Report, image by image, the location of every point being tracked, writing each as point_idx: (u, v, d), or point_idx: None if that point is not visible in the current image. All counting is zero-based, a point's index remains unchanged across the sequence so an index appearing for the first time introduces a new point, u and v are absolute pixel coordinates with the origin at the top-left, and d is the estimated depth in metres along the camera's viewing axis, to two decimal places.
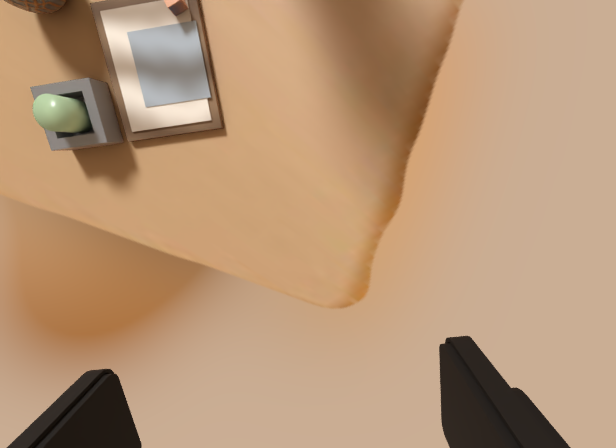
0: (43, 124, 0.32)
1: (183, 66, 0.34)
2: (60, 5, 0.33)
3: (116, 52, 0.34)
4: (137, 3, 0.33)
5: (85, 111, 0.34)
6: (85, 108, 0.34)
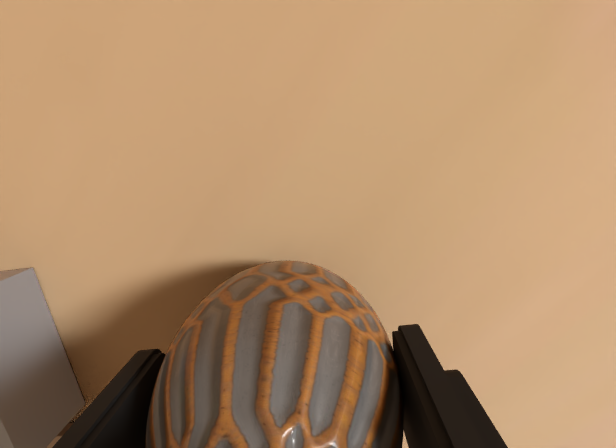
0: None
1: None
2: None
3: None
4: None
5: None
6: None
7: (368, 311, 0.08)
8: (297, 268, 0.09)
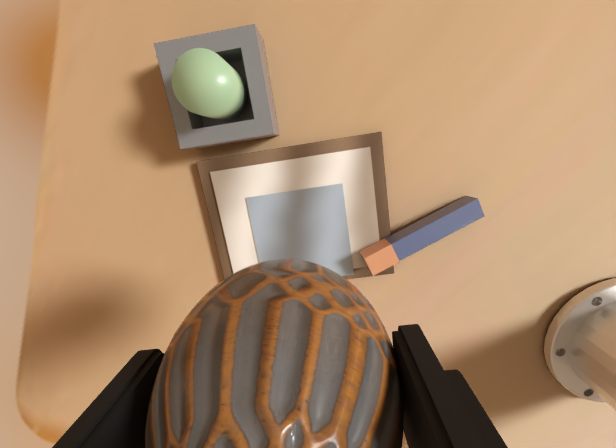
0: (180, 63, 0.18)
1: (300, 255, 0.26)
2: None
3: (317, 163, 0.24)
4: (377, 200, 0.25)
5: (225, 118, 0.21)
6: (230, 116, 0.22)
7: (368, 309, 0.08)
8: (297, 266, 0.09)
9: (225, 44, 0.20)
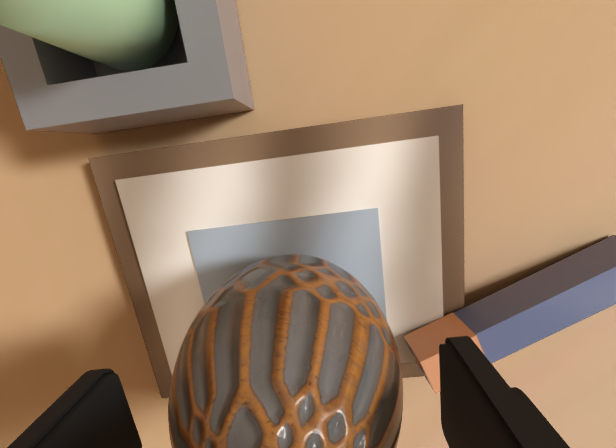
0: None
1: None
2: None
3: (328, 167, 0.12)
4: (444, 241, 0.13)
5: (123, 60, 0.09)
6: (135, 57, 0.09)
7: (370, 299, 0.09)
8: (304, 260, 0.10)
9: None
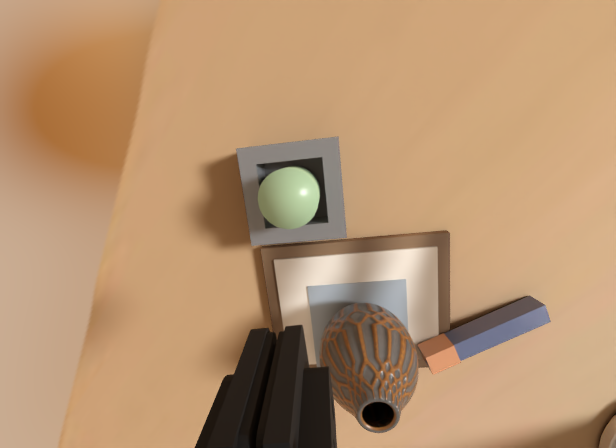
0: (268, 181, 0.18)
1: None
2: None
3: (382, 259, 0.24)
4: (439, 296, 0.24)
5: None
6: None
7: (404, 328, 0.21)
8: (374, 308, 0.22)
9: (307, 153, 0.20)
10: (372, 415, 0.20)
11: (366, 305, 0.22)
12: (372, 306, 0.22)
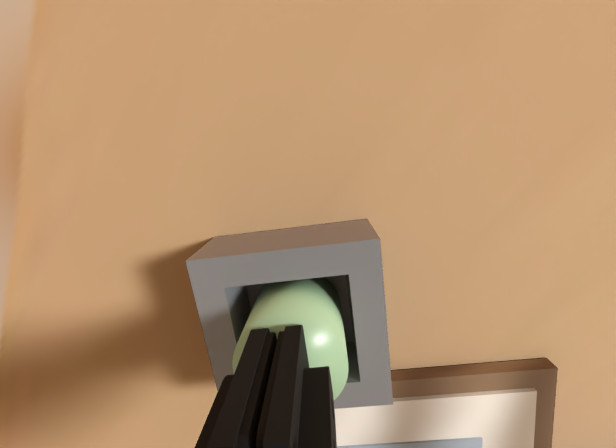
0: None
1: None
2: None
3: (443, 409, 0.14)
4: None
5: None
6: None
7: None
8: None
9: (320, 268, 0.11)
10: None
11: None
12: None
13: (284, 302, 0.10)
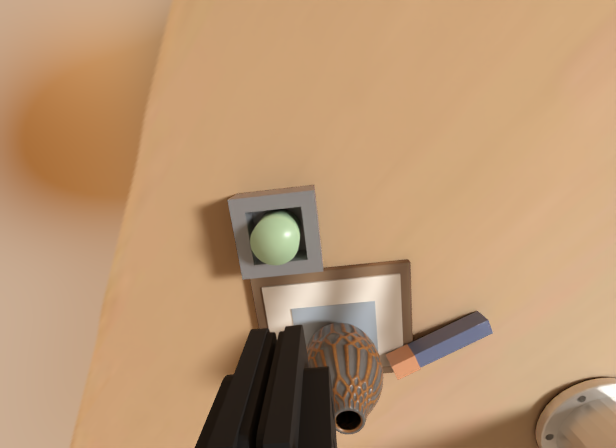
0: (258, 228, 0.23)
1: None
2: None
3: (354, 285, 0.28)
4: (403, 314, 0.29)
5: None
6: None
7: (372, 345, 0.25)
8: (347, 329, 0.26)
9: (288, 203, 0.24)
10: (346, 418, 0.24)
11: (341, 326, 0.26)
12: (346, 327, 0.26)
13: (272, 216, 0.24)
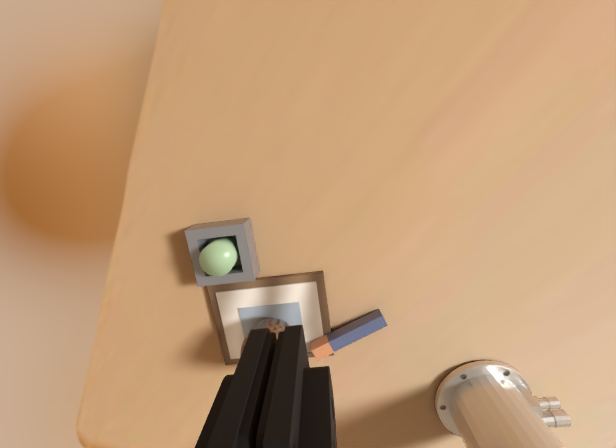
0: (204, 251, 0.33)
1: None
2: None
3: (283, 290, 0.38)
4: (321, 311, 0.39)
5: None
6: None
7: None
8: (273, 322, 0.36)
9: (226, 233, 0.34)
10: None
11: (270, 320, 0.36)
12: (273, 321, 0.36)
13: (215, 242, 0.34)
